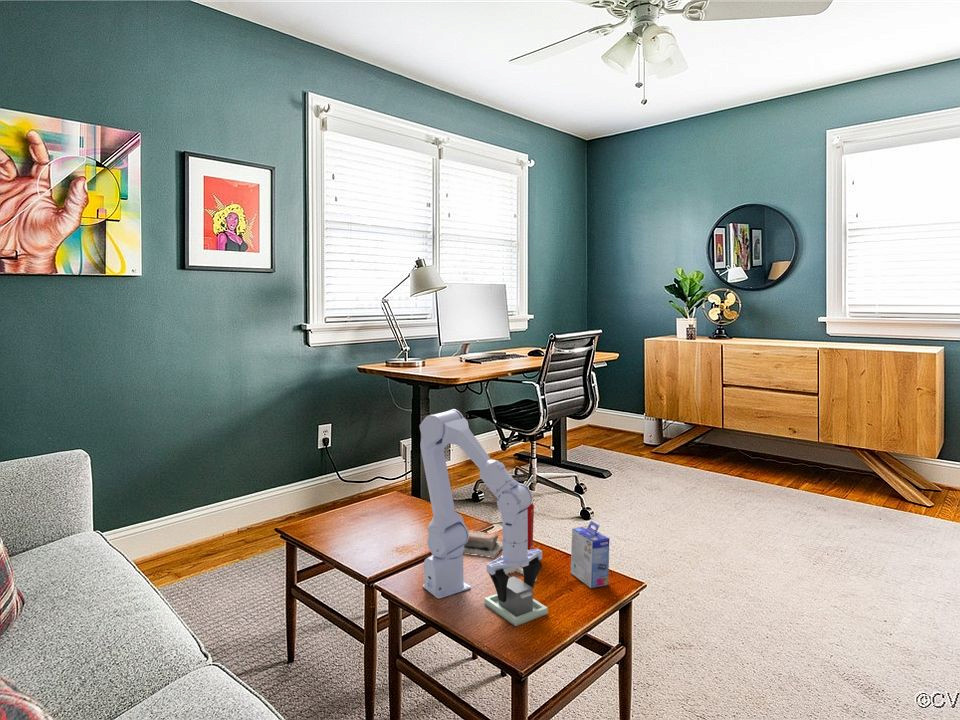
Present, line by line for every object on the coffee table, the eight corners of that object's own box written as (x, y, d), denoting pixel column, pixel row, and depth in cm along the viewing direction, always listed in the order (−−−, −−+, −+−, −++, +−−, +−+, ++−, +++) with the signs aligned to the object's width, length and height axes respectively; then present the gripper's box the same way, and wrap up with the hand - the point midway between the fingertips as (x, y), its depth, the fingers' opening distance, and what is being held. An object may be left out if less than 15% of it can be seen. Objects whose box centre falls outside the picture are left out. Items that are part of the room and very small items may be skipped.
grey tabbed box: (518, 618, 135) (518, 594, 134) (498, 604, 141) (498, 581, 141) (535, 612, 138) (534, 589, 137) (514, 598, 144) (514, 576, 143)
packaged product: (435, 534, 173) (449, 522, 183) (435, 551, 174) (449, 538, 183) (494, 543, 167) (506, 530, 176) (494, 560, 167) (506, 546, 177)
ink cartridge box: (610, 585, 151) (610, 529, 150) (591, 589, 149) (591, 532, 147) (588, 569, 160) (588, 516, 159) (570, 573, 158) (570, 519, 156)
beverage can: (521, 545, 176) (521, 495, 174) (538, 552, 171) (538, 500, 170) (507, 551, 172) (507, 500, 170) (524, 558, 167) (524, 505, 166)
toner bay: (510, 589, 149) (510, 579, 149) (492, 577, 156) (491, 568, 156) (537, 580, 154) (537, 570, 154) (518, 569, 161) (518, 559, 160)
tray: (515, 626, 132) (515, 619, 132) (484, 604, 142) (484, 597, 142) (547, 613, 138) (547, 607, 137) (515, 593, 147) (515, 587, 147)
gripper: (499, 552, 131) (500, 612, 132) (550, 537, 139) (550, 593, 140) (481, 541, 137) (481, 599, 138) (531, 527, 145) (531, 582, 146)
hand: (515, 595), depth 140 cm, fingers open, 7 cm apart
